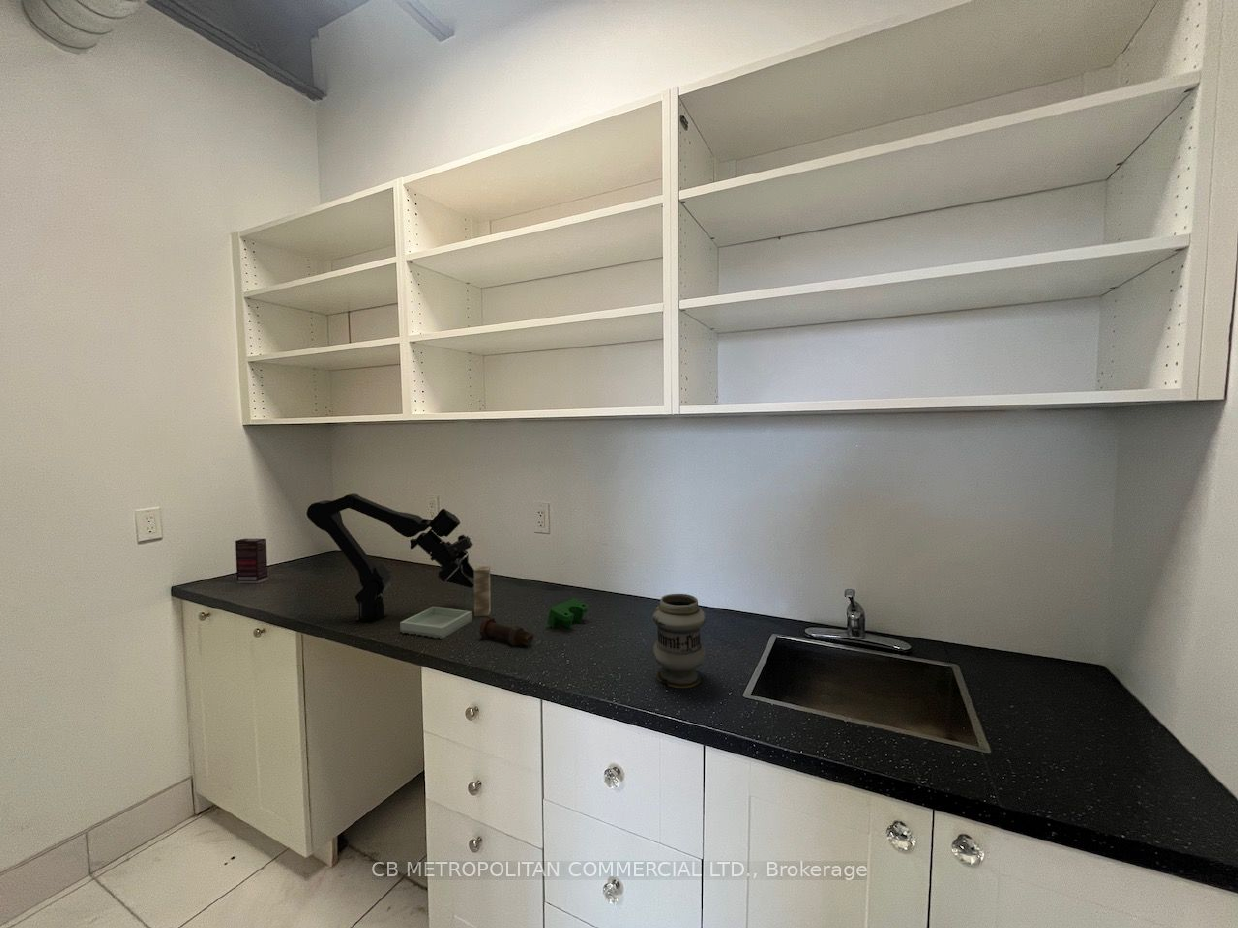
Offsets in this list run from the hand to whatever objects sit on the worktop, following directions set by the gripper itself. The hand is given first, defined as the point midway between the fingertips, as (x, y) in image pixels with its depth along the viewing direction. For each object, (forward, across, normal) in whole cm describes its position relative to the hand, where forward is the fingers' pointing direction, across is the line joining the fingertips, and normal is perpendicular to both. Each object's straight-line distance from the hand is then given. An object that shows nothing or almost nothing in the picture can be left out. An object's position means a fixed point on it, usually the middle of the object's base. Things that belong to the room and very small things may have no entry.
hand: (474, 582), depth 149 cm
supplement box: (-55, +47, +68) cm, 100 cm away
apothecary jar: (+43, -48, -28) cm, 71 cm away
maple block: (+8, 0, +6) cm, 10 cm away
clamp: (+27, -13, -12) cm, 32 cm away
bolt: (+15, -22, -1) cm, 27 cm away
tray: (0, -10, +13) cm, 16 cm away
